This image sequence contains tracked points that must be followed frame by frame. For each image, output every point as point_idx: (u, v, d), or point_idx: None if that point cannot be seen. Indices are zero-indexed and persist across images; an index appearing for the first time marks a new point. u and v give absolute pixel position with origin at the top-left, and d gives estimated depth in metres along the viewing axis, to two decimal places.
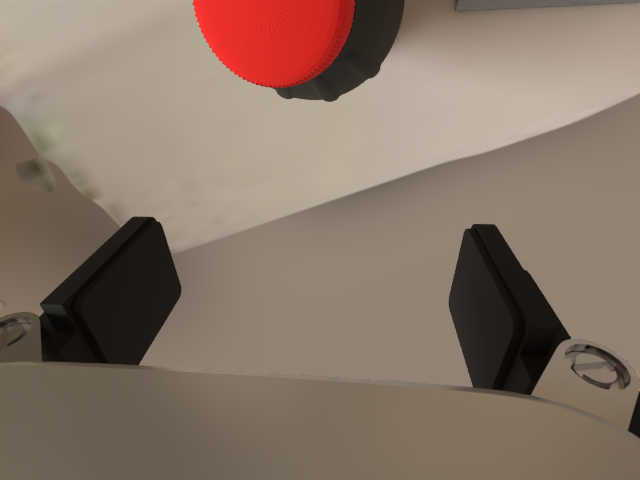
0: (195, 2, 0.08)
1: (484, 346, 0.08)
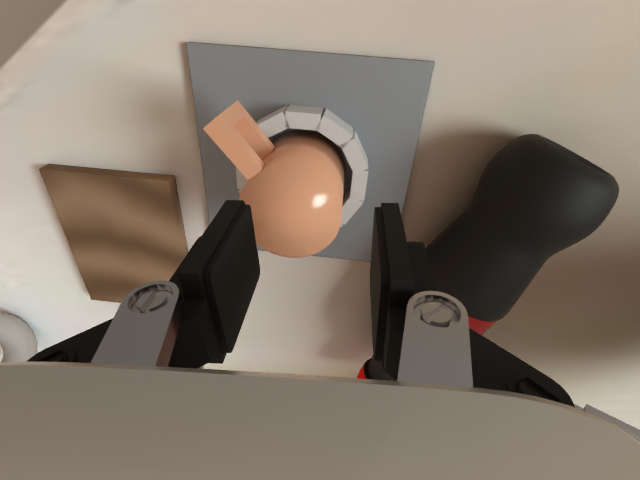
0: None
1: (375, 306, 0.09)
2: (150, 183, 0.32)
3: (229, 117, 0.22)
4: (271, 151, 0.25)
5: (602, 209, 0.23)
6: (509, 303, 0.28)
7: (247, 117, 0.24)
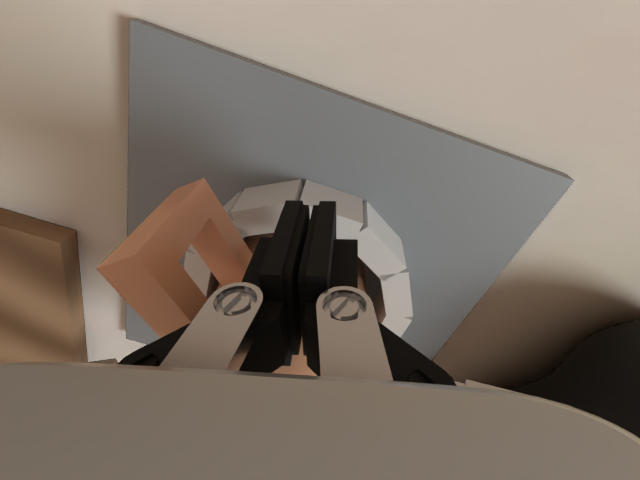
0: None
1: None
2: (25, 238, 0.18)
3: (173, 238, 0.09)
4: None
5: None
6: None
7: (217, 217, 0.12)
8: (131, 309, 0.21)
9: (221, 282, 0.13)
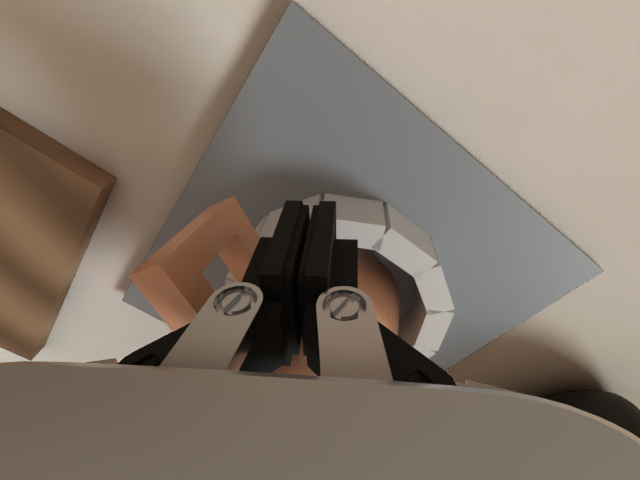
0: None
1: None
2: (60, 171, 0.16)
3: (198, 251, 0.10)
4: None
5: None
6: None
7: (244, 232, 0.12)
8: None
9: None
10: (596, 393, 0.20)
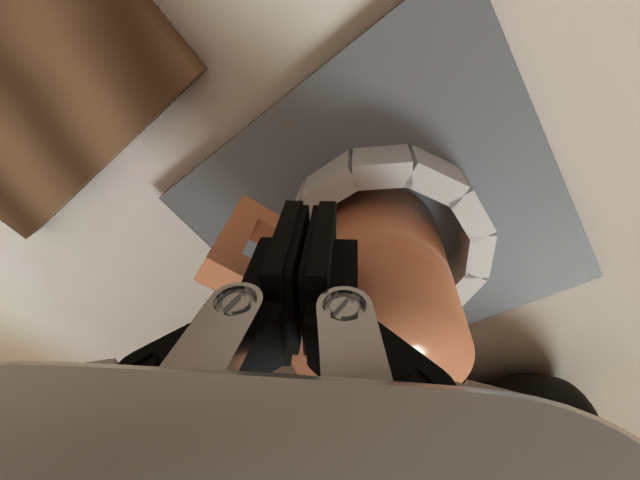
0: None
1: None
2: (160, 41, 0.15)
3: (232, 240, 0.13)
4: None
5: None
6: None
7: (265, 216, 0.15)
8: (196, 175, 0.19)
9: None
10: (552, 377, 0.24)
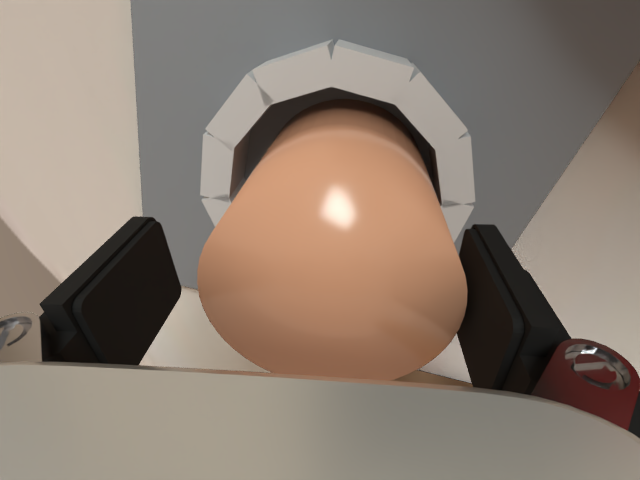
0: None
1: (484, 346, 0.08)
2: None
3: None
4: None
5: None
6: None
7: None
8: None
9: None
10: None
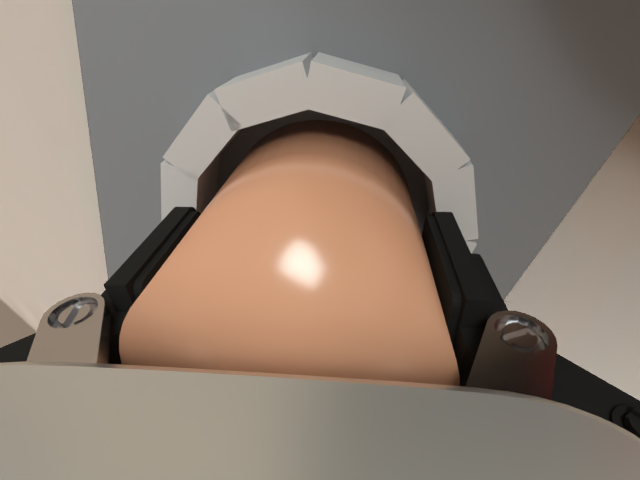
0: None
1: None
2: None
3: None
4: None
5: None
6: None
7: None
8: None
9: None
10: None
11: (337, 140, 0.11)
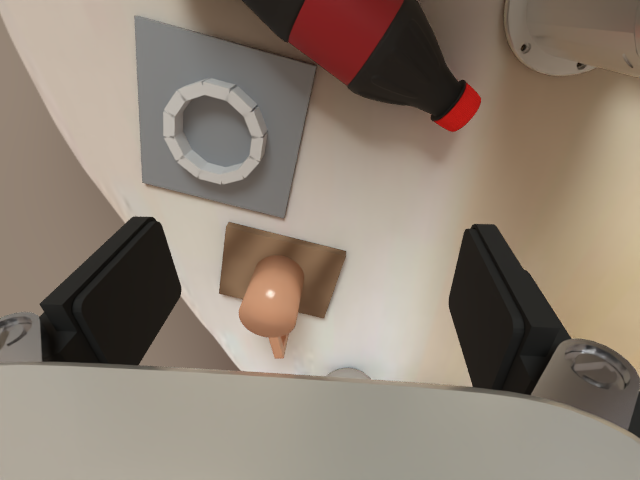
0: (480, 99, 0.32)
1: (484, 346, 0.08)
2: (227, 238, 0.47)
3: None
4: None
5: None
6: None
7: None
8: (262, 210, 0.45)
9: None
10: None
11: (280, 264, 0.46)
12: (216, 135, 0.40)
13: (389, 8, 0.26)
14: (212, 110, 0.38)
